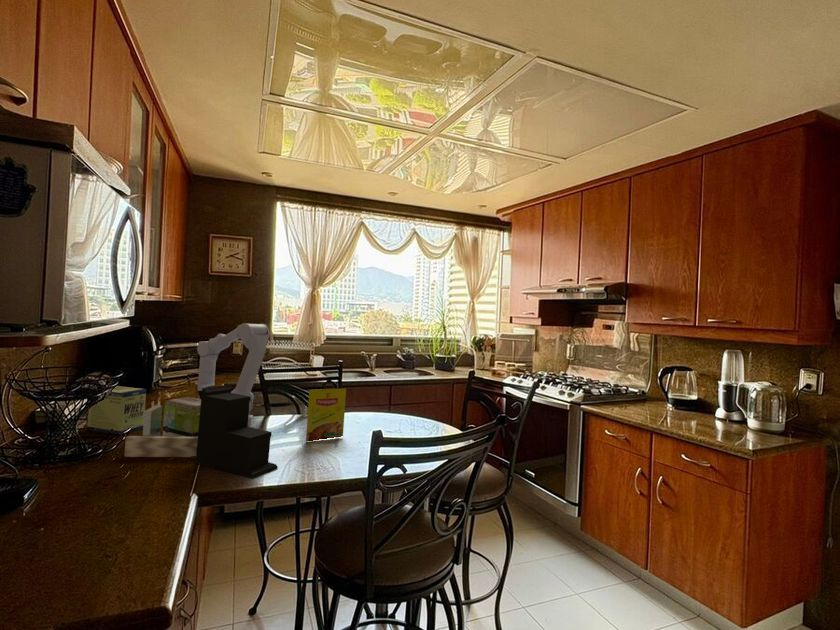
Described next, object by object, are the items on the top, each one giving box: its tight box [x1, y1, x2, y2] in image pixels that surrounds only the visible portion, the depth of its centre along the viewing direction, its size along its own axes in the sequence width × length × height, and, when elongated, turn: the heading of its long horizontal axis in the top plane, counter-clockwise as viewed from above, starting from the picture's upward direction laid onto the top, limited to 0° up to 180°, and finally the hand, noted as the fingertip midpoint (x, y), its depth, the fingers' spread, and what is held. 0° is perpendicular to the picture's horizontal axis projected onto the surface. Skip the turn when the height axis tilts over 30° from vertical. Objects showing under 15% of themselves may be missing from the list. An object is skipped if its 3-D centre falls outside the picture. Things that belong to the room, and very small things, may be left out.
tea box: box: [162, 396, 201, 437], centre depth 156 cm, size 15×10×15 cm
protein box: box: [86, 385, 147, 435], centre depth 165 cm, size 10×16×16 cm
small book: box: [142, 405, 163, 436], centre depth 144 cm, size 2×9×14 cm, turn 11°
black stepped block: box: [195, 384, 278, 479], centre depth 134 cm, size 23×11×24 cm, turn 66°
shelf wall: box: [124, 435, 198, 458], centre depth 140 cm, size 26×2×6 cm, turn 101°
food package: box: [305, 388, 347, 442], centre depth 169 cm, size 15×1×20 cm, turn 126°
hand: (204, 406), depth 172 cm, fingers closed
